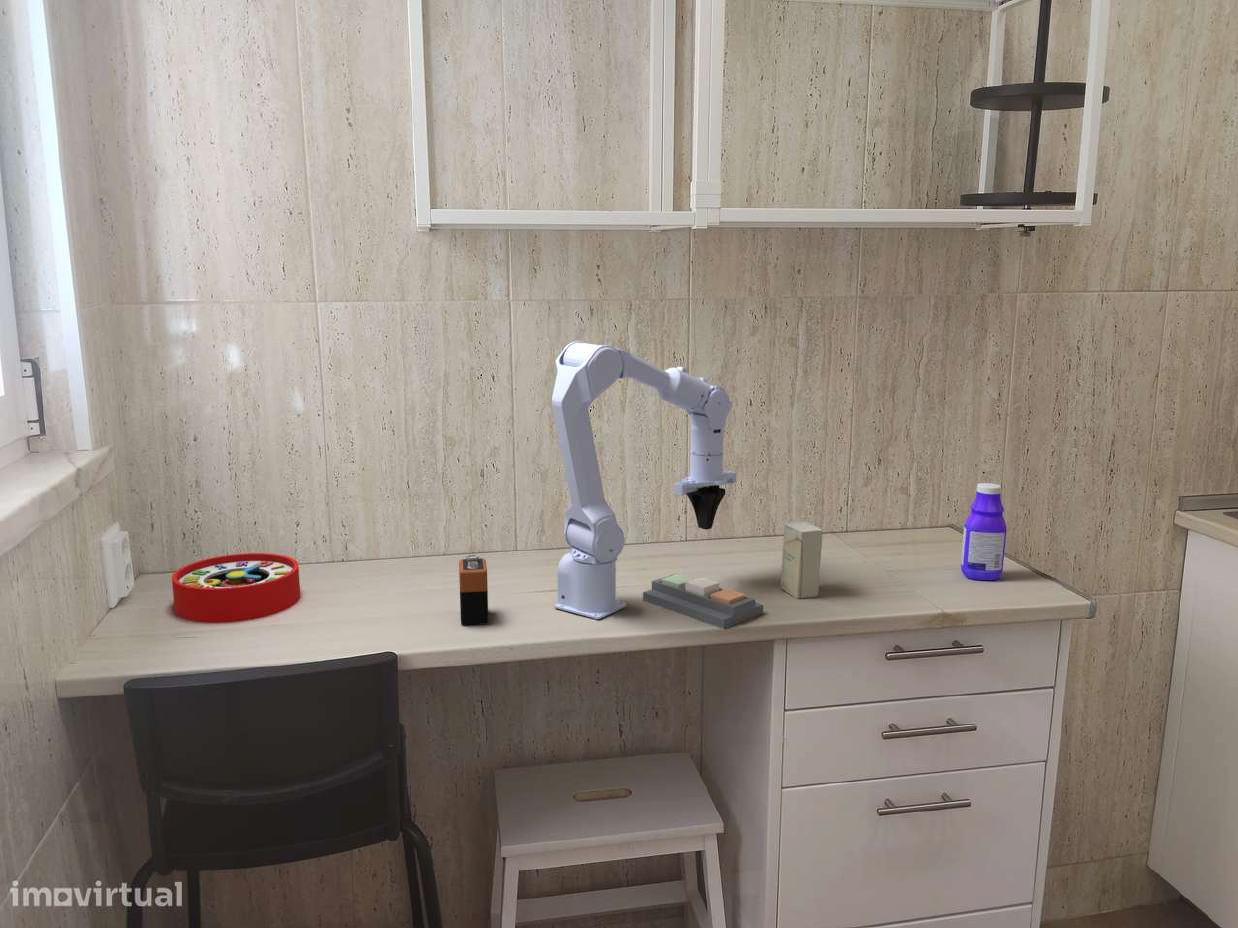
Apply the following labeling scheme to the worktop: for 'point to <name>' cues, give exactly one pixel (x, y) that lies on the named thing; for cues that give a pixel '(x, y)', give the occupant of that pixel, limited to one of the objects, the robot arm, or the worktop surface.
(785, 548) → the skincare box
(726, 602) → the terracotta button
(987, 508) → the bottle
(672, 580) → the green button
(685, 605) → the button panel
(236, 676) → the worktop surface
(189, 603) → the toy clock
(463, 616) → the battery
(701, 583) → the cream button
